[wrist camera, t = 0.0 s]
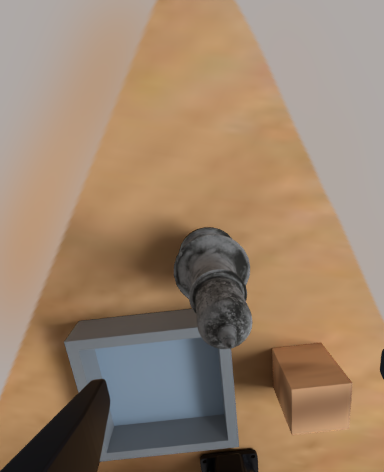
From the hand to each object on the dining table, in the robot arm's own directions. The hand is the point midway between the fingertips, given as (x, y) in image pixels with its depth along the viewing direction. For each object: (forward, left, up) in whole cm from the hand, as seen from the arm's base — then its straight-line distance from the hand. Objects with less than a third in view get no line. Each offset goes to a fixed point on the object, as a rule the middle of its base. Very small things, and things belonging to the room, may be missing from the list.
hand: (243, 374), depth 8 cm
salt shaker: (-1, 0, -15) cm, 15 cm away
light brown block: (-14, -8, -15) cm, 22 cm away
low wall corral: (-13, +6, -15) cm, 21 cm away
